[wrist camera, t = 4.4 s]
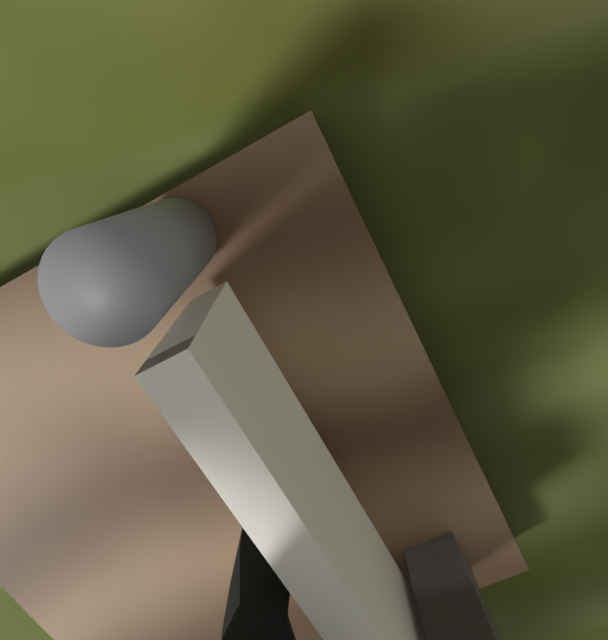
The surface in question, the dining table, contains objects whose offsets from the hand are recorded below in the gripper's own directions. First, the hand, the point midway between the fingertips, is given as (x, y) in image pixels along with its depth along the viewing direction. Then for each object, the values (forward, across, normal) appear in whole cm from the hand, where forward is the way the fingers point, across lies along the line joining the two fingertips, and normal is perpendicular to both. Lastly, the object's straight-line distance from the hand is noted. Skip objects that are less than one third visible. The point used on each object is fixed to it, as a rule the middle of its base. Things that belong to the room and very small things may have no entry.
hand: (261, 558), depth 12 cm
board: (+3, +2, 0) cm, 4 cm away
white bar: (+2, -1, -2) cm, 3 cm away
